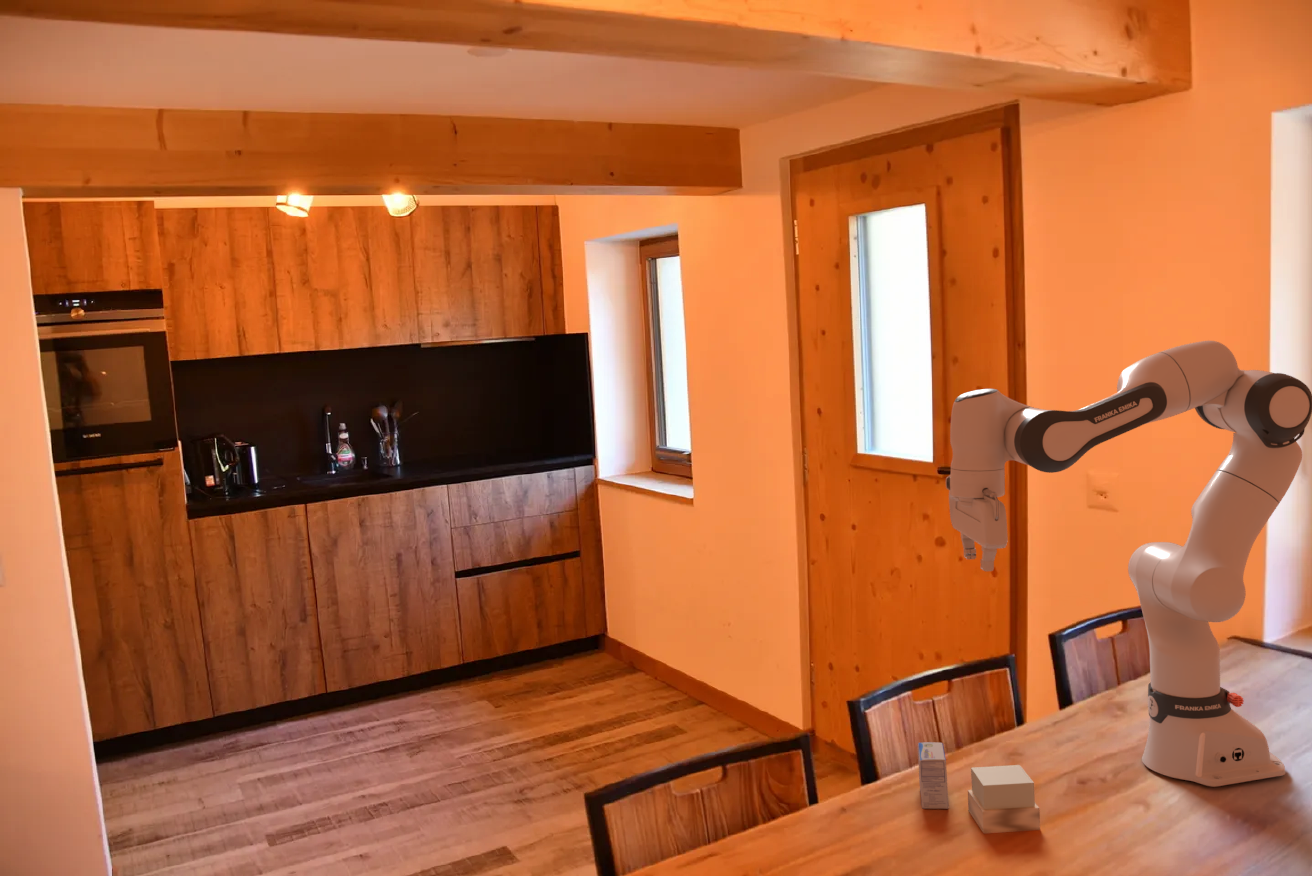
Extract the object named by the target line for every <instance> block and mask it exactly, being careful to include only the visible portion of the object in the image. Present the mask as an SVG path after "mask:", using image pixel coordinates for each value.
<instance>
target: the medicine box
mask: <svg viewBox="0 0 1312 876" xmlns="http://www.w3.org/2000/svg"><path fill="white" fill-rule="evenodd" d="M944 746H945V745H944V743H943V742H937V741H936V742H934V741H928V742H927V741H926V742H925V741H924V742H917V759H918V775H919V776H918V777H919V780H918V781H919V790H920V791H919V792H920V796H921V797H920V799H921V808H922V809H925V810H927V809H928V810H930V809H931V810H948V809H950V808H949V794H948V793H949V792H948V774H947V773H948V771H947V759H946V754H945V753H946V752H945V749H944V748H945V747H944Z"/></svg>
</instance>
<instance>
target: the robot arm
mask: <svg viewBox="0 0 1312 876" xmlns="http://www.w3.org/2000/svg"><path fill="white" fill-rule="evenodd" d="M1116 385H1117V386H1116V393H1114V394H1112V395H1110V396H1107V397H1106V398H1103V399H1101V400H1098V401H1095V402H1094V403H1090V404H1088V405H1087V406H1084V407H1081V408H1079V409H1076V410H1069V411H1068V410H1067V411H1066V410H1059V409H1058V410H1056V409H1044V408H1043V409H1042V408H1037V407H1034V406H1033V407H1032V406H1030V405H1027V404H1024V403H1021V402H1018V401H1017V400H1014V399H1012V398H1010V397H1008V396H1006V395H1004V394H1003V393H1001V392H1000V391H999V390H998V389H995V388H983V389H975V390H970V391H967V392H964V393H962V394H960V395H959V396H957V397H956V398H955V400H954V402H953V404H952V409H951V416H950V430H949V432H950V433H949V434H950V435H949V436H950V437H949V439H950V441H949V442H950V446H951V450H952V458H951V463H950V474H949V475H948V476H947V477H946V478H945V489H947V490H948V504H949V516H950V517H949V518H950V523H951V525H952V528H953V529H954V530H956V531H958V532H960V538H961V542H962V548H963V557H964V558H965V559H966V560H975V559H977V549H976V547H975V545H976V544H975V543H977V544H978V545H980V546H981V551H982V555H981V559H980V569H981V570H982V571H984V572H993V571H994V569H995V559H996V556H997V555H996V554H997V552H998V549H1004V548H1006V547H1007V545H1008V541H1009V540H1008V523H1007V510H1006V506H1005V503H1003V501H1001V500H1000V499H998V498H1001V497H1003V496H1004V495H1006V488H1005V485H1006V482H1005V480H1006V479H1005V478H1006V477H1005V475H1006V471H1005V467H1006V466H1005V465H1006V463H1007V462H1008V461H1016V462H1018V463H1021V464H1024V465H1026V466H1029V467H1031V468H1033V469H1035V470H1037V471H1040V472H1041V473H1059V472H1062V471H1065V470H1067V469H1068V468H1070V467H1072V466H1073V465H1074V464H1075V463H1076V462H1078V461H1079V460H1080V459H1081V458H1082V457H1083V456H1084V455H1085V454H1087V453H1088V452H1089V451H1090V450H1091V449H1093V448H1095V447H1096V446H1098V445H1100V444H1102V443H1104V442H1107V441H1109V440H1111V439H1114V438H1115V437H1119V436H1120V435H1121V436H1122V435H1123V434H1126V433H1127V432H1130V431H1132V430H1135V429H1137V428H1139V427H1141V426H1144V425H1147V424H1150V423H1153V422H1158V421H1162V420H1165V419H1169V418H1171V417H1174V416H1177V415H1180V414H1183V413H1185V412H1188V411H1190V410H1194V409H1195V411H1196V414H1197V415H1198V416H1199V417H1200V418H1201V419H1202V421H1204V423H1206V424H1208V425H1210V426H1212V427H1214V428H1216V429H1219V430H1220V429H1221V430H1225V431H1229V432H1232V433H1233V437H1232V444H1231V447H1230V450H1229V452H1228V454H1227V456H1226V457H1225V458H1224V459H1223V461H1222V462H1221V463H1220V465H1219V466H1218V468H1217V469H1216V470H1215V471H1214V473H1213V475H1212V476H1211V478H1210V479H1209V481H1208V482H1207V484H1205V486H1204V487H1203V490H1202V491H1201V492H1200V494H1199V495H1198V496H1197V498H1196V499H1195V500H1194V503H1193V504H1192V506H1191V511H1190V512H1191V514H1190V515H1191V518H1192V521H1191V527H1190V530H1189V534H1188V536H1187V540H1186V541H1185V542H1184V545H1179V544H1177V543H1175V542H1168V541H1154V542H1153V541H1152V542H1148V543H1147V542H1146V543H1144V544H1142V545H1140V546H1139V547H1137V548H1136V549H1135V550H1134V552H1133V553H1132V554H1131V556H1130V558H1129V560H1128V565H1127V566H1128V568H1127V572H1128V577H1129V578H1130V580H1131V582H1132V585H1133V586H1134V587H1135V591H1136V592H1137V596H1138V601H1139V604H1140V608H1141V611H1142V616H1143V621H1144V623H1145V629H1146V633H1147V638H1148V647H1149V669H1150V672H1149V674H1150V676H1149V677H1150V682H1149V683H1148V685H1147V708H1148V709H1147V710H1148V711H1147V712H1148V716H1149V725H1148V730H1147V731H1148V732H1147V739H1146V743H1145V747H1144V751H1143V754H1142V757H1141V761H1142V763H1143V765H1145V766H1146V767H1147V768H1148V769H1150V770H1152V771H1153V772H1155V773H1158V774H1160V775H1164V776H1165V777H1169V778H1174V779H1177V780H1185V781H1191V782H1195V783H1197V784H1201V785H1203V786H1207V787H1214V788H1215V787H1221V786H1222V787H1223V786H1227V785H1234V784H1239V783H1245V782H1251V781H1252V782H1253V781H1256V780H1258V781H1259V780H1263V779H1269V778H1275V777H1280V776H1284V775H1286V768H1285V765H1284V763H1283V761H1282V760H1281V759H1279V758H1278V757H1277V756H1276V755H1275V754H1273V753H1272V752H1270V748H1269V747H1270V746H1269V744H1268V740H1267V739H1266V735H1265V734H1264V732H1263V731H1262V730H1261V729H1259V728H1258V727H1257V726H1256V725H1255V724H1253V723H1252V722H1250V721H1249V719H1247V718H1245V717H1243V715H1241V714H1239V713H1238V711H1235V710H1234V709H1233V708H1232V707H1231V705H1233V706H1234V707H1236V708H1240V707H1242V706H1243V704H1244V702H1245V699H1244V698H1243V697H1242V696H1241V695H1240V694H1238V693H1236V692H1230V691H1229V690H1227V689H1226V688H1224V687H1221V650H1220V646H1219V643H1218V640H1217V638H1216V636H1215V635H1214V633H1213V631H1212V629H1211V626H1210V624H1209V623H1223V622H1226V621H1228V620H1231V619H1232V618H1233V617H1235V616H1236V615H1237V614H1238V613H1239V612H1240V611H1241V609H1242V608H1243V606H1244V603H1245V600H1246V586H1245V583H1244V574H1245V569H1246V565H1247V562H1248V558H1249V555H1250V552H1251V550H1252V548H1253V546H1254V543H1255V541H1256V539H1257V537H1258V536H1259V535H1260V533H1261V531H1262V530H1263V528H1265V525H1266V524H1267V523H1268V521H1269V520H1270V518H1271V516H1272V515H1273V513H1274V511H1276V509H1277V507H1278V506H1279V504H1280V503H1281V502H1282V500H1283V498H1284V497H1285V495H1286V493H1288V491H1289V488H1290V487H1291V485H1292V483H1293V481H1294V478H1295V476H1296V474H1297V472H1298V470H1299V467H1300V465H1301V462H1302V460H1303V451H1302V448H1301V446H1300V444H1299V443H1298V442H1297V441H1299V440H1300V439H1301V438H1302V437H1303V435H1304V433H1305V430H1306V427H1307V425H1308V424H1309V422H1310V420H1311V417H1312V391H1311V390H1310V388H1309V386H1308V385H1306V384H1305V383H1304V382H1303V381H1302V380H1300V379H1298V378H1296V377H1294V376H1292V375H1289V374H1285V373H1282V372H1276V373H1275V372H1270V371H1265V370H1261V369H1260V370H1259V369H1249V370H1245V369H1240V368H1239V367H1238V362H1237V359H1236V357H1235V355H1234V353H1233V352H1232V350H1230V349H1229V348H1228V347H1227V345H1225V344H1223V343H1221V342H1219V341H1215V340H1203V341H1195V342H1192V343H1191V342H1190V343H1187V344H1181V345H1179V346H1178V345H1177V346H1174V347H1171V348H1167V349H1165V350H1162V351H1159V352H1157V353H1154V354H1150V355H1148V356H1146V357H1144V358H1141V359H1139V360H1137V361H1135V362H1133V363H1132V364H1130V365H1128V366H1127V367H1126V368H1123V370H1122V371H1121V373H1120V375H1119V376H1118V379H1117V384H1116Z"/></svg>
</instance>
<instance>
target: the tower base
mask: <svg viewBox="0 0 1312 876" xmlns="http://www.w3.org/2000/svg"><path fill="white" fill-rule="evenodd" d="M967 807H968V809H967V811H968V812H969V814H970V815H971V817H972V819H973V820H974V821H975V823H976V825H977V826H978V827H979V829H980V830H981V832H982V834H995V833H1007V832H1008V833H1011V832H1027V831H1040V830H1041V818H1040V817H1041V814H1040V812H1041V811H1040V810H1041V809H1040V806H1039V805H1038V804H1037V803H1036V802H1035V807H1025V808H1007V809H989V810H984V809H983V807H982V806H981V804H980V803H979V801H978V799H977V798H976V796H975V795H974V793H973V792H972V789H967Z"/></svg>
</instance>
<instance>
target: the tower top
mask: <svg viewBox="0 0 1312 876" xmlns="http://www.w3.org/2000/svg"><path fill="white" fill-rule="evenodd" d="M970 774H971V775H970V777H971V778H970V779H971V790H972V792H973V793H974V795H975V796H976V798H977V799H978V801H979V803H980V804H981V806H982V807H983V809H984V810H989V809H1007V808H1025V807H1035V803H1036V800H1035V797H1036V796H1035V795H1036V794H1035V782H1034V781H1033V779H1031V777H1030V775H1028V774H1027V772H1026V771H1025V769H1024V768H1023V767H1022V766H1021V765H1020V764H1015V765H1013V764H1012V765H1009V764H1008V765H994V766H980V767H978V766H977V767H974V766H973V767H970Z"/></svg>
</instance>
